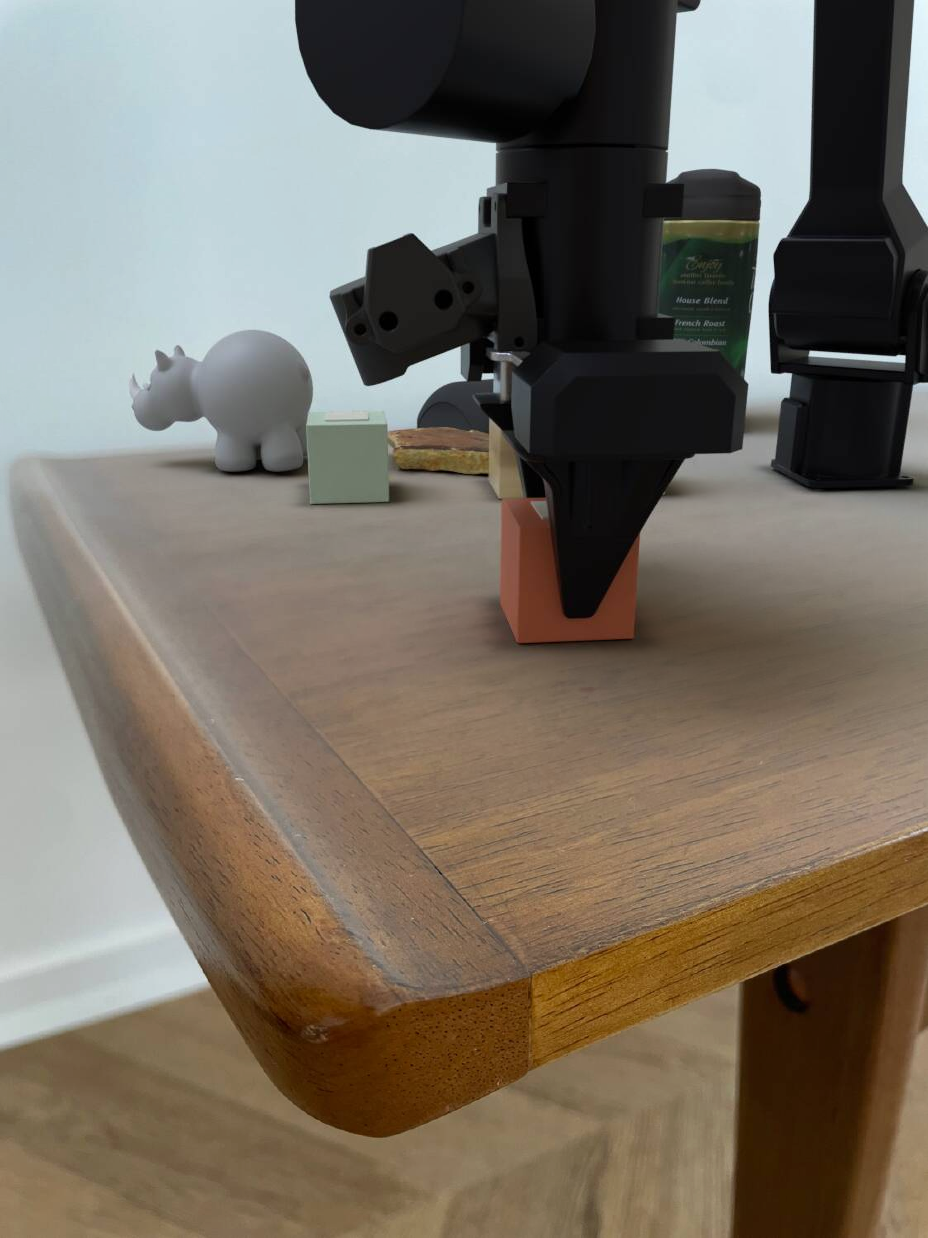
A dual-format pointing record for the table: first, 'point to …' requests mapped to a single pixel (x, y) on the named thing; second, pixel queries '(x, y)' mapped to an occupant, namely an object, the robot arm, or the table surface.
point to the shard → (441, 449)
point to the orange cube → (554, 583)
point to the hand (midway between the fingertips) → (564, 595)
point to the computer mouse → (456, 407)
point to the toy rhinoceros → (235, 399)
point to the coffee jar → (712, 262)
